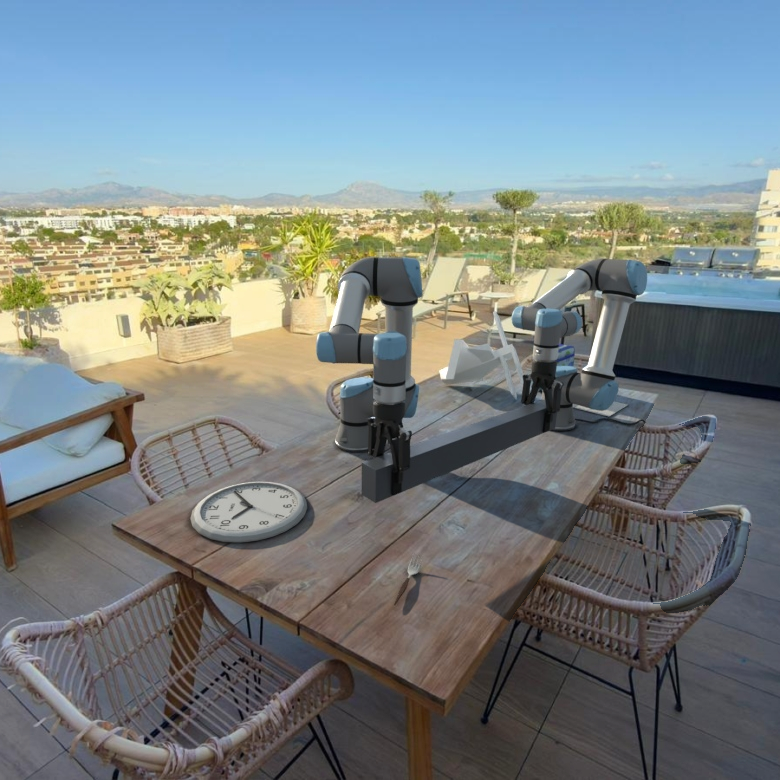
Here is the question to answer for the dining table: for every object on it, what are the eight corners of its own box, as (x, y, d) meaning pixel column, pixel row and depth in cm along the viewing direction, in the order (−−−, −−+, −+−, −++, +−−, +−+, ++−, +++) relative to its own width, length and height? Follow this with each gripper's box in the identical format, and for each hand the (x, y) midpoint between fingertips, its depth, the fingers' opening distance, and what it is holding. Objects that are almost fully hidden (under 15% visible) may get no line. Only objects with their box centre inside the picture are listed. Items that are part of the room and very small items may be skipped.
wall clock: (302, 534, 126) (174, 538, 123) (303, 540, 126) (175, 544, 124) (310, 477, 154) (206, 479, 152) (310, 482, 155) (206, 484, 152)
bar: (541, 423, 176) (543, 399, 173) (555, 428, 172) (558, 403, 169) (361, 494, 127) (361, 462, 125) (375, 503, 123) (375, 470, 121)
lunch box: (547, 395, 239) (552, 351, 233) (526, 390, 247) (530, 347, 240) (574, 384, 257) (579, 343, 251) (554, 380, 264) (558, 339, 258)
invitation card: (608, 416, 214) (573, 407, 224) (608, 416, 214) (573, 408, 224) (628, 404, 229) (594, 396, 238) (628, 405, 229) (594, 397, 238)
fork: (388, 605, 105) (388, 597, 104) (412, 560, 119) (412, 553, 119) (400, 609, 104) (400, 600, 104) (423, 563, 119) (423, 555, 118)
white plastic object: (461, 429, 252) (437, 405, 227) (444, 352, 274) (420, 323, 250) (535, 404, 240) (518, 377, 215) (510, 326, 262) (492, 293, 237)
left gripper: (352, 393, 126) (353, 479, 133) (404, 414, 113) (402, 508, 120) (376, 387, 131) (375, 471, 138) (428, 406, 118) (425, 498, 125)
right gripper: (512, 355, 167) (507, 423, 174) (564, 367, 153) (556, 440, 161) (526, 351, 171) (520, 418, 179) (578, 363, 158) (569, 434, 165)
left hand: (388, 488), depth 129 cm, fingers closed on bar, 5 cm apart
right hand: (537, 428), depth 170 cm, fingers closed on bar, 5 cm apart
